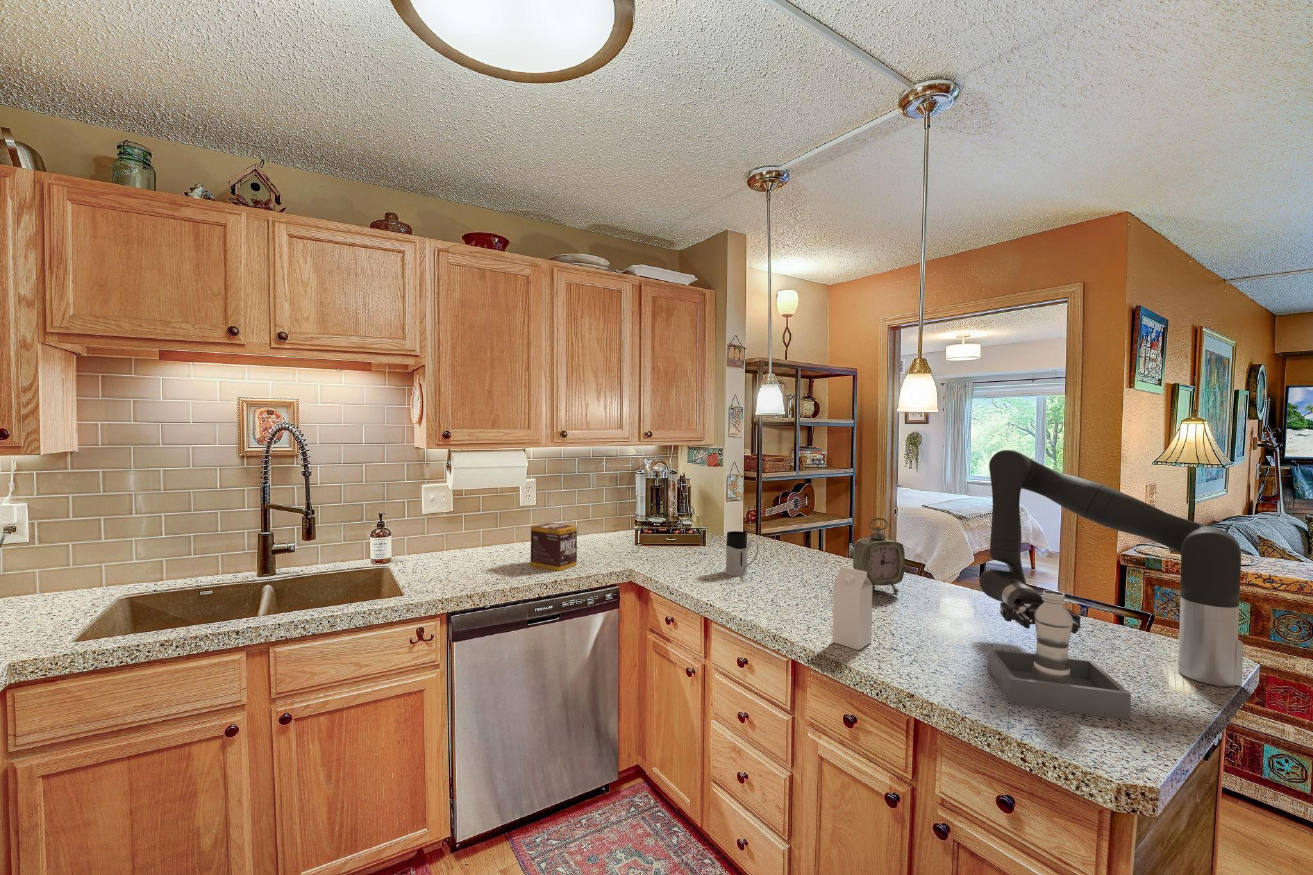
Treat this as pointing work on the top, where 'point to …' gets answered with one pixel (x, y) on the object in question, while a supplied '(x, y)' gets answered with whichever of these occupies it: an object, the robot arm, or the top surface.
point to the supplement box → (554, 546)
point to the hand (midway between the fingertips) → (1051, 626)
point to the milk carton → (852, 608)
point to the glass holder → (737, 553)
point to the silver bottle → (1052, 639)
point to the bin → (1059, 686)
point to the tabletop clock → (880, 558)
